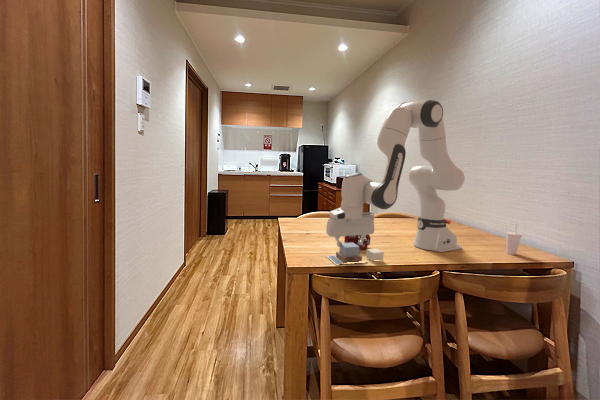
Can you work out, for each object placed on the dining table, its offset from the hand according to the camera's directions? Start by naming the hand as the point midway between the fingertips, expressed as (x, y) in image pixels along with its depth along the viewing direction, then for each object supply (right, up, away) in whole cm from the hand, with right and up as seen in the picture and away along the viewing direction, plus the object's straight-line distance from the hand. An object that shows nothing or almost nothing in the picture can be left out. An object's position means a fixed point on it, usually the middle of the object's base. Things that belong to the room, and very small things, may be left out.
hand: (349, 245), depth 132 cm
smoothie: (+77, -6, +16) cm, 79 cm away
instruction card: (-1, -6, 0) cm, 6 cm away
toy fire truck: (+6, -4, +18) cm, 19 cm away
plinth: (0, -6, +1) cm, 6 cm away
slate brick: (0, -4, 0) cm, 4 cm away
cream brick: (+11, -6, +2) cm, 13 cm away
